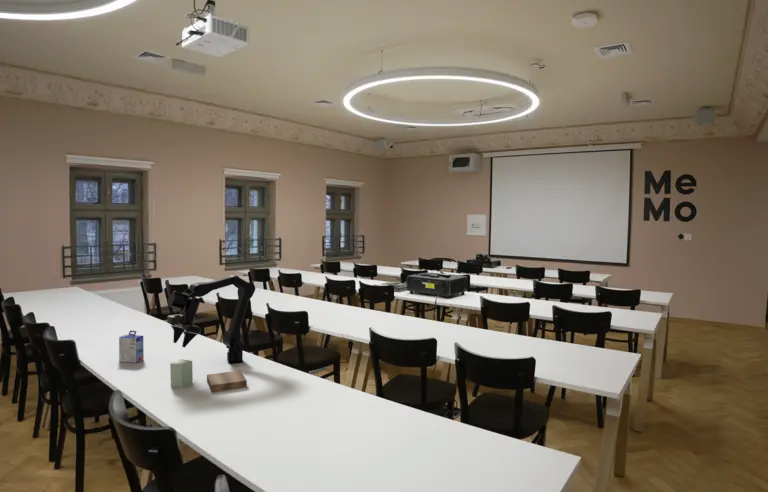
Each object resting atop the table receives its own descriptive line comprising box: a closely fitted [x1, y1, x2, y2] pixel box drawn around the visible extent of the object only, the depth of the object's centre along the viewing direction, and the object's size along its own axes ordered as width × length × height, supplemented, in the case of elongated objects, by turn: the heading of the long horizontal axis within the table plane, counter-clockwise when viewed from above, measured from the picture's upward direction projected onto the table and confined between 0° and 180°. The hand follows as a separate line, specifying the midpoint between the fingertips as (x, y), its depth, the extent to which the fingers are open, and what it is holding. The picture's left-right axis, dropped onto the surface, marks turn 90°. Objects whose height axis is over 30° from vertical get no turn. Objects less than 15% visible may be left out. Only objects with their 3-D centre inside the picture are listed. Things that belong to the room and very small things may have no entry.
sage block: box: [169, 358, 194, 390], centre depth 201 cm, size 6×6×10 cm
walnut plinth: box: [206, 369, 248, 394], centre depth 203 cm, size 14×14×3 cm
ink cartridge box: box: [118, 330, 145, 364], centre depth 232 cm, size 10×6×14 cm, turn 78°
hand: (178, 345), depth 213 cm, fingers open, 9 cm apart
